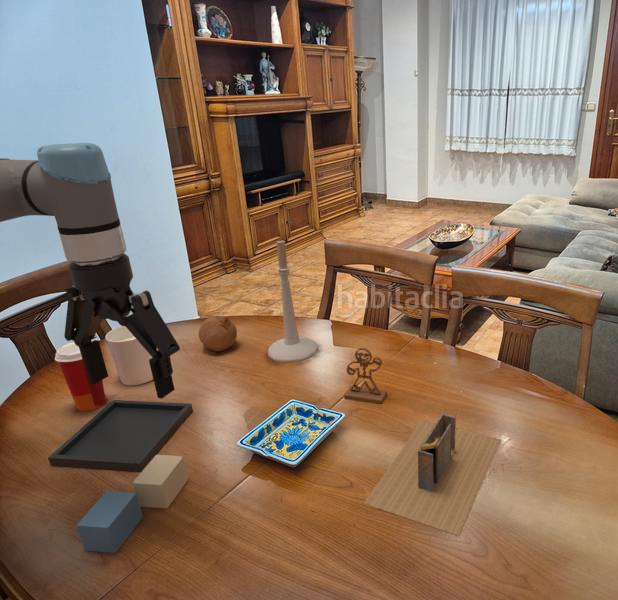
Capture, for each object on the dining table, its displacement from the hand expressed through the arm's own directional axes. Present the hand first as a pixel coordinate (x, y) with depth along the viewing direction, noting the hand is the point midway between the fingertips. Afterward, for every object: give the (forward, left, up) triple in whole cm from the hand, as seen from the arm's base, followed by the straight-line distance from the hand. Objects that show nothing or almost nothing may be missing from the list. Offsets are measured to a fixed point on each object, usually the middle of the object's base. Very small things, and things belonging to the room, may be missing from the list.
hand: (132, 386), depth 80 cm
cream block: (+2, -1, -20) cm, 20 cm away
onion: (-12, +51, -21) cm, 56 cm away
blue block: (-1, -10, -20) cm, 23 cm away
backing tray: (-14, +13, -20) cm, 28 cm away
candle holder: (-25, +35, -20) cm, 48 cm away
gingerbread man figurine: (+31, +31, -20) cm, 48 cm away
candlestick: (+8, +51, -20) cm, 56 cm away
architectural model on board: (+48, +9, -20) cm, 53 cm away
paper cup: (-29, +23, -21) cm, 43 cm away
